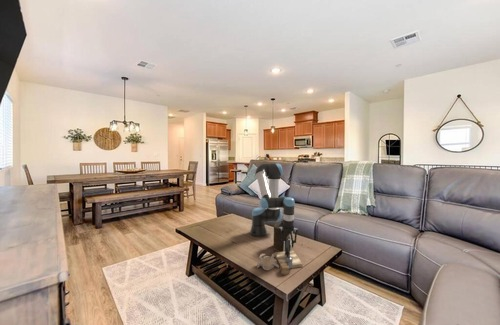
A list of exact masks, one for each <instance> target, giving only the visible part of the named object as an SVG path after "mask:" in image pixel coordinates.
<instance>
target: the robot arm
mask: <svg viewBox="0 0 500 325" xmlns="http://www.w3.org/2000/svg"><path fill="white" fill-rule="evenodd" d="M283 174H284V171H283V167H282V164H280V163H277V162H274V163H273V162H272V163H271V162H270V163H261V164H259V165H258V166H257V167H256V169H255V173H254V175H255V176H254V177H255V179H256V180H257V183H258V187H259V191H260V192H259V193H260V195H261V196H260V197H261V198H260V200H259V206H260V207H259V206H258V207H255V208H253V209H252V211H251V222H252V223H251V227H250V232H249V234H250V235H251V236H253V237H257V238H258V237H259V238H260V237H264V236H266V235H267V234H268V231H267V228H266V223H273V222H274V223H278V222H281V221H283V226H282V227H279V231H280V241H281V242H282V247H284V252H285V241H284V240H285V236H286V233H290V236H291V241H292V242H291V252H292V251H293V248H294V244H297V235H298V229H299V228H298V227H297V228H296V227H295V225H294V224H295V204H296V203H295V199H294V198H293V197H291V196H289V197H288V196H284V195H280V196H279V183H280V182H279V180H281V177H283ZM282 208H283V209H282ZM282 210H283V211H282ZM282 212H283V213H282ZM282 216H283V217H282ZM282 219H283V220H282ZM282 229H283V230H284V231H285V232H284V236H283V239H282ZM293 231H294V237H293V236H292V233H293Z"/></svg>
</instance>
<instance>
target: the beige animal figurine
mask: <svg viewBox="0 0 500 325" xmlns="http://www.w3.org/2000/svg"><path fill="white" fill-rule="evenodd" d="M274 257H276V256H275V253H272V255H271V256H270V255H269V256H268V255H266V253H261V254H260V255H259V257H258V258H259V261H258V263H257V265H256V269H259V268H260V267H262V269H263V270H265V271H271V269H273V268H275V267H277V268H279V269H280V264H278V263H277V262H278V259H277V258H274Z"/></svg>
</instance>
